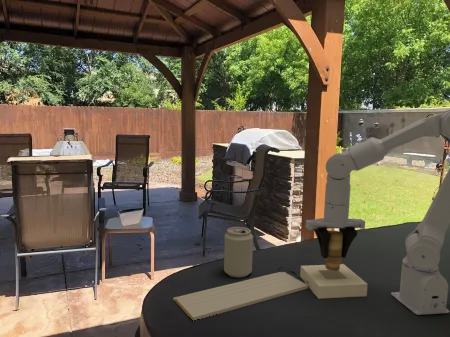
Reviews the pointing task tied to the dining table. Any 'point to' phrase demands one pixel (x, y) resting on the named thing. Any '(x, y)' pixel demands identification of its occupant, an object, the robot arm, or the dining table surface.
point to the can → (238, 252)
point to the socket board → (333, 282)
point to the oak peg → (334, 250)
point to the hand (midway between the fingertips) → (333, 256)
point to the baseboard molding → (238, 295)
